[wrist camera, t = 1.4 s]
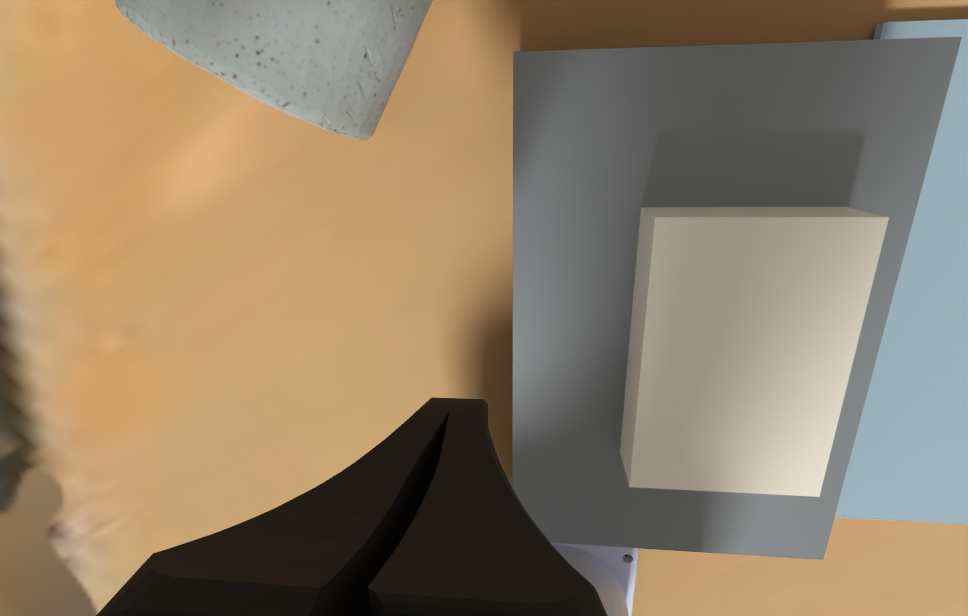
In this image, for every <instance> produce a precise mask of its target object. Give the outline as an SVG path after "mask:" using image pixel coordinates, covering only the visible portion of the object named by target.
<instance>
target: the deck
mask: <svg viewBox="0 0 968 616" xmlns="http://www.w3.org/2000/svg"><path fill="white" fill-rule="evenodd" d="M961 39H962V37H935V38H905V39H875V40H845V41H815V42H786V43H756V44H726V45H696V46H666V47H636V48H606V49H577V50H547V51H517V52H514V60H513V442H512V488H513V490H514V492H515V494H516V495H517V497H518V499H519V500H520V502H521V504H522V505H523V507H524V508H525V510H526V511H527V513H528V514H529V516H530V517H531V518H532V520H533V521H534V522H535V524H536V525H537V526H538V528H539V529H540V530H541V531H542V533H543V534H544V535H545V537H546V538H547V539H548V541H549V542H550V543H564V544H580V545H596V546H611V547H627V548H643V549H659V550H675V551H691V552H707V553H723V554H739V555H755V556H771V557H787V558H803V559H819V560H823V558H824V554H825V551H826V547H827V543H828V539H829V536H830V532H831V528H832V524H833V521H834V517H835V513H836V509H837V505H838V502H839V498H840V494H841V490H842V487H843V483H844V479H845V475H846V472H847V468H848V464H849V460H850V457H851V453H852V449H853V445H854V442H855V438H856V434H857V430H858V426H859V423H860V419H861V415H862V411H863V408H864V404H865V400H866V396H867V393H868V389H869V385H870V381H871V378H872V374H873V370H874V366H875V362H876V359H877V355H878V351H879V347H880V344H881V340H882V336H883V332H884V329H885V325H886V321H887V317H888V314H889V310H890V306H891V302H892V298H893V295H894V291H895V287H896V283H897V280H898V276H899V272H900V268H901V265H902V261H903V257H904V253H905V250H906V246H907V242H908V238H909V234H910V231H911V227H912V223H913V219H914V216H915V212H916V208H917V204H918V201H919V197H920V193H921V189H922V186H923V182H924V178H925V174H926V170H927V167H928V163H929V159H930V155H931V152H932V148H933V144H934V140H935V137H936V133H937V129H938V125H939V122H940V118H941V114H942V110H943V106H944V103H945V99H946V95H947V91H948V88H949V84H950V80H951V76H952V73H953V69H954V65H955V61H956V58H957V54H958V50H959V46H960V43H961ZM641 207H849V208H853V209H857V210H861V211H865V212H869V213H874V214H878V215H882V216H886V217H889V220H888V224H887V228H886V232H885V236H884V240H883V244H882V248H881V252H880V256H879V260H878V264H877V268H876V272H875V276H874V280H873V284H872V288H871V292H870V296H869V300H868V304H867V308H866V312H865V316H864V320H863V324H862V328H861V332H860V336H859V340H858V344H857V348H856V352H855V356H854V360H853V364H852V368H851V372H850V376H849V380H848V384H847V388H846V392H845V396H844V400H843V404H842V408H841V412H840V416H839V420H838V424H837V428H836V432H835V436H834V440H833V444H832V448H831V452H830V456H829V460H828V464H827V468H826V472H825V476H824V481H823V485H822V489H821V493H820V497H812V496H792V495H773V494H753V493H734V492H714V491H694V490H675V489H655V488H636V487H629V484H628V480H627V476H626V473H625V469H624V465H623V461H622V457H621V453H620V445H621V434H622V422H623V410H624V399H625V387H626V375H627V364H628V352H629V340H630V329H631V317H632V306H633V294H634V282H635V271H636V259H637V247H638V236H639V224H640V212H641Z"/></svg>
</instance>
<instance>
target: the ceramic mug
mask: <svg viewBox="0 0 968 616" xmlns="http://www.w3.org/2000/svg"><path fill="white" fill-rule="evenodd" d="M115 2H116V6H117V8H118V9H119V11H120V12H121V13H122V15H123V16H124V17H126V18H127V19H129V20H130V21H131V22H132V23H133V24H134V26H135V27H137V28H138V29H139V30H141V31H142V32H144V33H145V34H146V35H148V36H149V37H150V38H151V39H153V40H155V41H157V42H159V43H160V44H162V45H163V46H164V47H166V48H168V49H169V50H171V51H173V52H174V53H176V54H177V55H179V56H180V57H182V58H184V59H186V60H188V61H190V62H192V63H193V64H194V65H196V66H197V67H199V68H201V69H203V70H205V71H207V72H209V73H211V74H212V75H214V76H216V77H218V78H220V79H222V80H223V81H225V82H227V83H228V84H230V85H232V86H234V87H235V88H237V89H239V90H241V91H243V92H244V93H246V94H248V95H250V96H252V97H254V98H255V99H257V100H259V101H261V102H263V103H265V104H267V105H269V106H271V107H273V108H275V109H277V110H279V111H282V112H284V113H286V114H288V115H291V116H294V117H297V118H299V119H302V120H305V121H307V122H309V123H311V124H313V125H315V126H317V127H319V128H322V129H324V130H327V131H329V132H333V133H336V134H340V135H343V136H346V137H349V138H356V139H361V140H366V139H369V138H370V137H371V136H373V134H374V131H375V129H376V127H377V125H378V122H379V120H380V118H381V116H382V113H383V111H384V109H385V107H386V104H387V102H388V100H389V97H390V95H391V93H392V91H393V88H394V86H395V84H396V82H397V80H398V78H399V76H400V73H401V71H402V69H403V67H404V65H405V63H406V60H407V58H408V56H409V54H410V52H411V50H412V47H413V45H414V42H415V40H416V37H417V35H418V32H419V30H420V27H421V25H422V22H423V20H424V18H425V16H426V13H427V11H428V9H429V7H430V5H431V3H432V0H115Z"/></svg>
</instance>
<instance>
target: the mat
mask: <svg viewBox="0 0 968 616" xmlns="http://www.w3.org/2000/svg"><path fill="white" fill-rule="evenodd" d="M935 37H962V39H961V43H960V46H959V50H958V54H957V58H956V61H955V65H954V69H953V73H952V76H951V80H950V84H949V88H948V91H947V95H946V99H945V103H944V106H943V110H942V114H941V118H940V122H939V125H938V129H937V133H936V137H935V140H934V144H933V148H932V152H931V155H930V159H929V163H928V167H927V170H926V174H925V178H924V182H923V186H922V189H921V193H920V197H919V201H918V204H917V208H916V212H915V216H914V219H913V223H912V227H911V231H910V234H909V238H908V242H907V246H906V250H905V253H904V257H903V261H902V265H901V268H900V272H899V276H898V280H897V283H896V287H895V291H894V295H893V298H892V302H891V306H890V310H889V314H888V317H887V321H886V325H885V329H884V332H883V336H882V340H881V344H880V347H879V351H878V355H877V359H876V362H875V366H874V370H873V374H872V378H871V381H870V385H869V389H868V393H867V396H866V400H865V404H864V408H863V411H862V415H861V419H860V423H859V426H858V430H857V434H856V438H855V442H854V445H853V449H852V453H851V457H850V460H849V464H848V468H847V472H846V475H845V479H844V483H843V487H842V490H841V494H840V498H839V502H838V505H837V509H836V513H835V517H841V518H859V519H878V520H896V521H914V522H932V523H951V524H968V19H955V20H928V21H900V22H883V23H879V24H876V27H875V31H874V36H873V40H875V39H905V38H935Z"/></svg>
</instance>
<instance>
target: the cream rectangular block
mask: <svg viewBox="0 0 968 616" xmlns="http://www.w3.org/2000/svg"><path fill="white" fill-rule="evenodd" d="M888 220H889V217H886V216H882V215H878V214H874V213H869V212H865V211H861V210H857V209H853V208H849V207H641V212H640V224H639V236H638V247H637V259H636V271H635V282H634V294H633V306H632V317H631V329H630V340H629V352H628V364H627V375H626V387H625V399H624V410H623V422H622V434H621V445H620V453H621V457H622V461H623V465H624V469H625V473H626V476H627V480H628V484H629V487H636V488H655V489H675V490H694V491H714V492H734V493H753V494H773V495H792V496H812V497H820V493H821V489H822V485H823V481H824V476H825V472H826V468H827V464H828V460H829V456H830V452H831V448H832V444H833V440H834V436H835V432H836V428H837V424H838V420H839V416H840V412H841V408H842V404H843V400H844V396H845V392H846V388H847V384H848V380H849V376H850V372H851V368H852V364H853V360H854V356H855V352H856V348H857V344H858V340H859V336H860V332H861V328H862V324H863V320H864V316H865V312H866V308H867V304H868V300H869V296H870V292H871V288H872V284H873V280H874V276H875V272H876V268H877V264H878V260H879V256H880V252H881V248H882V244H883V240H884V236H885V232H886V228H887V224H888Z"/></svg>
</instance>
